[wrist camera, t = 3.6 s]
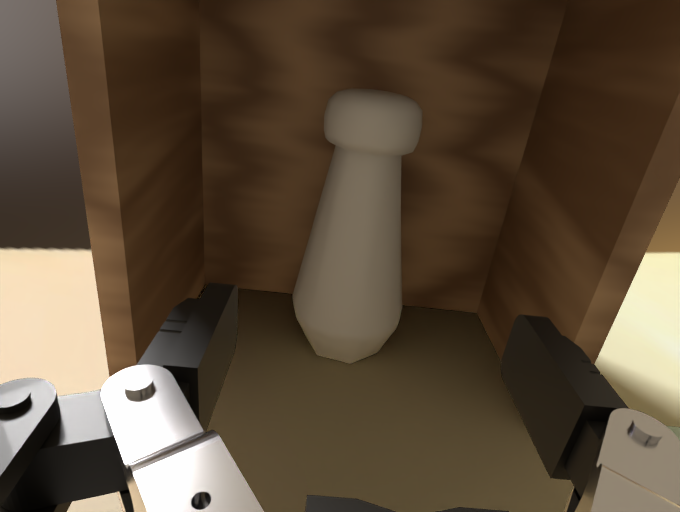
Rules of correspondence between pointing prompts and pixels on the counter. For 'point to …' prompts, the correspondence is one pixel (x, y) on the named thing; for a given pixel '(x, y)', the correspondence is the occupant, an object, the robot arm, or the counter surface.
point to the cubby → (416, 168)
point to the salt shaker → (358, 227)
